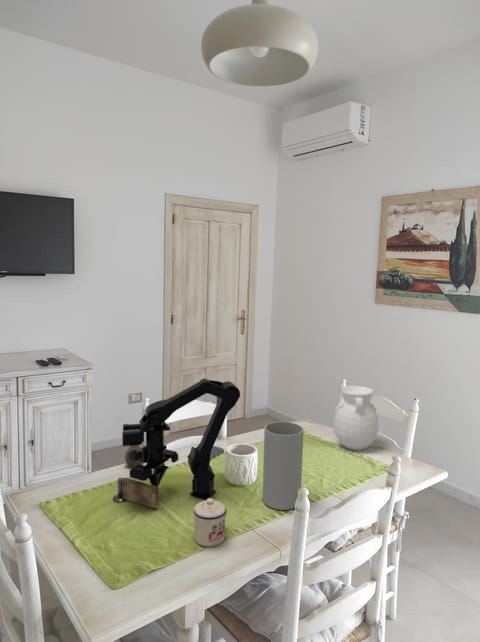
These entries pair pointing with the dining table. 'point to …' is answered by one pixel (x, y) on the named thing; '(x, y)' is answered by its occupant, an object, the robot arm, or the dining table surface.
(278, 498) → the cylinder vase
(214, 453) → the woven mat
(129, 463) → the vase
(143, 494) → the brown wooden plank
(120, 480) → the hinge pin
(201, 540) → the teacup with lid
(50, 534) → the dining table surface
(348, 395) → the pitcher
